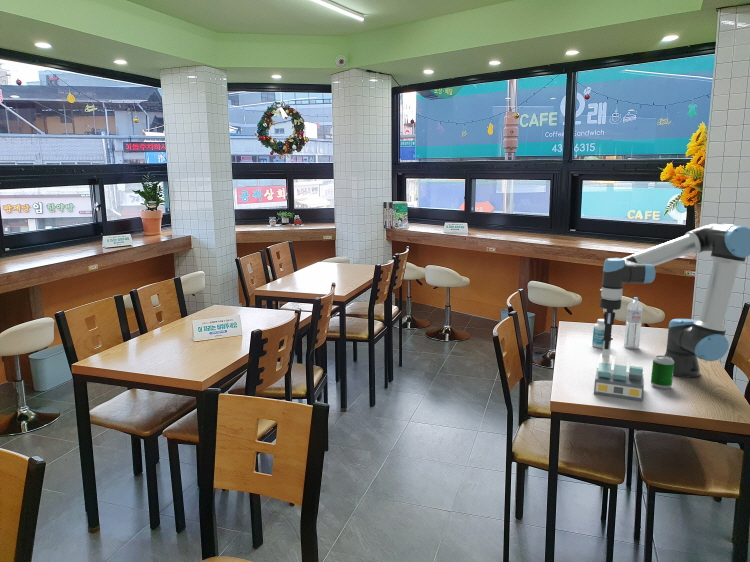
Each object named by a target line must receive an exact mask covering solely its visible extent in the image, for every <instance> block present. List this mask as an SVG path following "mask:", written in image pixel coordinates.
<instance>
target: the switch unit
mask: <svg viewBox="0 0 750 562" xmlns="http://www.w3.org/2000/svg"><path fill="white" fill-rule="evenodd" d="M598 368H599V367H597V368H596V371H595V372H596V373H595V377H594V387H593V394H594V395H599V396H605V397H606V396H607V397H613V398H619V399H625V400H626V399H627V400H632V401H637V402H638V401H640V402H643V400H644V399H643V397H644V389H645V387H644V386H645V381H644V380H645V379H644V374H643V375H642V376H640V375H632V374H629V371H626V381H622V380H615V379H613V374H614V369H611V373H610V378H606V377H599V376H598Z"/></svg>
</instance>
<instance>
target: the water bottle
mask: <svg viewBox="0 0 750 562" xmlns="http://www.w3.org/2000/svg"><path fill="white" fill-rule="evenodd" d="M643 309H644V306H643V304H642V303H641V302H640V301H639V297H637V296H636V297H635V296H634V297H633V300H632V301H630V302H629V303H628V304H627V311H626V321H625V330H624V343H623V345H624V346H623V347H624V348H626V349H628V348H630V349H629V350H638V349H639V348H640V341H641V332H642V318H643Z"/></svg>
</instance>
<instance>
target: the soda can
mask: <svg viewBox="0 0 750 562" xmlns="http://www.w3.org/2000/svg"><path fill="white" fill-rule="evenodd" d="M673 370H674V360H673V359H672V358H671V357H668V356H664V355H657V356H656V355H655V357H653V360H652V369H651V376H650V378H651V379H650V384H651V385H652V386H653V388H656V389H660V390H668V389H669V388H671V387H672V385H673V379H674V378H673V377H674V375H673Z"/></svg>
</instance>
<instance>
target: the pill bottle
mask: <svg viewBox="0 0 750 562" xmlns="http://www.w3.org/2000/svg"><path fill="white" fill-rule="evenodd" d="M596 321H597V322H596V323H595V324H593V330H592V343H591V345H592V347H594V348H596V347H597V349H603V341H602V339H604V332H605V324H604V318H598V319H597V320H596Z"/></svg>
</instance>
